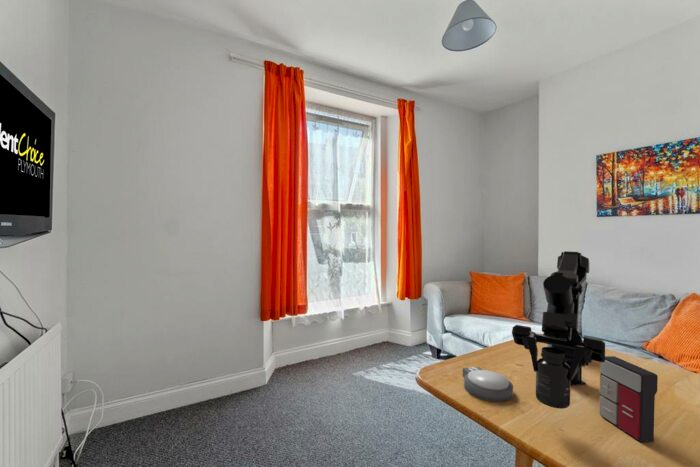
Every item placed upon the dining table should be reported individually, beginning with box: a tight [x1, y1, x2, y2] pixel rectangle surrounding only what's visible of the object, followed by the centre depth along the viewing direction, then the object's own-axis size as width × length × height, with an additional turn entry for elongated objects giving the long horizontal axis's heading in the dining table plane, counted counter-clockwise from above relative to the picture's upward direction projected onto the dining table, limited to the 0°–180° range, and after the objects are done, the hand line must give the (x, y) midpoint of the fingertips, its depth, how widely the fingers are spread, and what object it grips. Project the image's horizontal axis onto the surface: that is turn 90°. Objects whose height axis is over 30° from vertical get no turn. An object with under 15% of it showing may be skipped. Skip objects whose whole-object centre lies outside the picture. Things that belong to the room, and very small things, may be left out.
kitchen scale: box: [462, 366, 514, 403], centre depth 95 cm, size 13×16×4 cm
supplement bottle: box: [535, 346, 572, 410], centre depth 75 cm, size 7×7×12 cm
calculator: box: [598, 355, 658, 443], centre depth 76 cm, size 11×4×15 cm, turn 5°
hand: (551, 375), depth 74 cm, fingers closed on supplement bottle, 7 cm apart
